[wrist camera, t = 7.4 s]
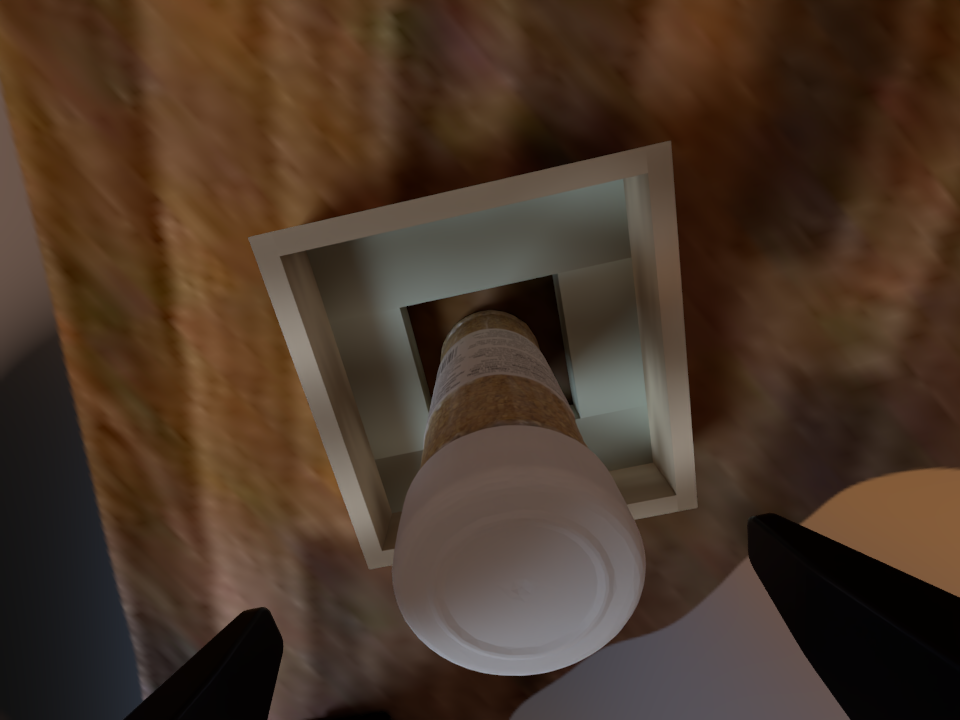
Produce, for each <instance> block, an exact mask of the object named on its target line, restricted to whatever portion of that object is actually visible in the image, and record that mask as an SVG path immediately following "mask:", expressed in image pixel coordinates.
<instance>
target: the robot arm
mask: <svg viewBox="0 0 960 720" xmlns="http://www.w3.org/2000/svg"><path fill="white" fill-rule="evenodd" d="M747 529H748V555H749V559H750V562H751V564H752V566H753V568H754V570H755V572H756V573H757V575H758V577H759V579H760V580H761V582H762V583H763V585H764V587H765V589H766V591H767V592H768V594H769V596H770V597H771V599H772V601H773V602H774V604H775V606H776V607H777V609H778V611H779V613H780V614H781V616H782V618H783V619H784V621H785V623H786V625H787V626H788V628H789V630H790V632H791V633H792V635H793V637H794V638H795V640H796V642H797V643H798V645H799V646H800V648H801V650H802V651H803V653H804V655H805V656H806V658H807V659H808V661H809V662H810V663H811V665H812V666H813V668H814V669H815V671H816V672H817V674H818V675H819V676H820V678H821V679H822V681H823V682H824V683H825V685H826V686H827V688H828V689H829V690H830V692H831V693H832V695H833V696H834V697H835V699H836V700H837V702H838V703H839V704H840V706H841V707H842V709H843V710H844V711H845V713H846V714H847V716H848V717H849V718H850V720H960V597H957V596H955V595H953V594H951V593H948V592H946V591H944V590H942V589H940V588H938V587H935V586H933V585H931V584H929V583H926V582H924V581H922V580H919V579H918V578H916V577H913V576H911V575H909V574H906V573H904V572H902V571H900V570H898V569H896V568H893V567H891V566H889V565H887V564H885V563H883V562H880V561H878V560H876V559H873V558H872V557H869V556H867V555H865V554H863V553H861V552H858V551H856V550H854V549H852V548H849V547H847V546H845V545H843V544H841V543H839V542H836V541H834V540H832V539H830V538H828V537H825V536H823V535H821V534H819V533H817V532H814V531H812V530H810V529H808V528H805V527H803V526H801V525H799V524H797V523H795V522H792V521H790V520H788V519H786V518H784V517H781V516H779V515H777V514H774V513H767V514H762V515H756V516H752V517H750V518H749V519H748V523H747ZM282 654H283V639H282V636H281V634H280V632H279V630H278V627H277V625H276V623H275V621H274V619H273V617H272V615H271V612H270V611H269V610H268V609H267V608H266V607H260V608H255V609H249V610H246V611H243V612H242V613H240V614H239V615H238V616H237V617H236V618H235V619H234V620H233V621H232V622H230V623H229V624H228V625H227V626H226V627H225V628H224V629H223V630H222V631H220V632H219V633H218V634H217V635H216V636H215V637H214V638H213V639H212V640H210V641H209V642H208V643H207V644H206V645H205V646H204V647H203V648H202V649H201V650H199V651H198V652H197V653H196V654H195V655H194V656H193V657H192V658H191V659H189V660H188V661H187V662H186V663H185V664H184V665H183V666H182V667H181V668H179V669H178V670H177V671H176V672H175V673H174V674H173V675H172V676H171V677H170V678H168V679H167V680H166V681H165V682H164V683H163V684H162V685H161V686H160V687H158V688H157V689H156V690H155V691H154V692H153V693H152V694H151V695H150V696H148V697H147V698H146V699H145V700H144V701H143V702H142V703H141V704H140V705H139V706H137V707H136V708H135V709H134V710H133V711H132V712H131V713H130V714H129V715H127V716H126V717H125V718H124V719H123V720H267V719H268V714H269V710H270V706H271V701H272V697H273V693H274V688H275V684H276V680H277V676H278V671H279V667H280V663H281V658H282ZM340 720H391V718H390V716H389V715H388V714H387V713H383V712H382V713H375V714H369V715H363V716H357V717H351V718H345V719H340Z"/></svg>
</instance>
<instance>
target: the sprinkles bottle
mask: <svg viewBox="0 0 960 720" xmlns="http://www.w3.org/2000/svg"><path fill="white" fill-rule="evenodd" d="M645 570H646V560H645V551H644V546H643V541H642V538H641V535H640V532H639V530H638V527H637V525H636V523H635V520H634V518H633V516H632V514H631V512H630V510H629V508H628V506H627V504H626V502H625V500H624V498H623V496H622V494H621V492H620V491H619V489H618V487H617V485H616V483H615V481H614V479H613V477H612V476H611V474H610V472H609V471H608V469H607V468H606V466H605V465H604V464H603V463H602V462H601V460H600V459H599V458H598V457H597V456H596V455H595V454H594V453H593V452H592V451H591V450H589V449H588V447H587V445H586V444H585V442H584V441H583V438H582V436H581V434H580V432H579V429H578V427H577V424H576V421H575V415H574V413H573V411H572V409H571V407H570V405H569V404H568V402H567V400H566V398H565V396H564V394H563V392H562V390H561V388H560V386H559V384H558V382H557V380H556V378H555V376H554V374H553V372H552V371H551V369H550V367H549V365H548V363H547V361H546V359H545V357H544V356H543V354H542V353H541V351H540V348H539V345H538V342H537V340H536V338H535V335H534V334H533V333H532V331H531V330H530V328H529V327H528V325H527V324H526V323H525V322H523V321H521V320H520V319H518V318H517V317H516V316H514V315H511V314H509V313H506V312H503V311H496V310H486V311H480V312H476V313H473V314H471V315H468V316H467V317H465V318H464V319H462V320H460V321H459V322H458V323H457V324H455V325H454V327H453V328H452V330H451V331H450V332H449V333H448V335H447V337H446V339H445V341H444V343H443V346H442V351H441V364H440V366H439V369H438V373H437V378H436V382H435V387H434V391H433V396H432V400H431V405H430V410H429V415H428V419H427V424H426V429H425V434H424V444H423V453H422V460H421V466H420V469H419V471H418V473H417V475H416V476H415V478H414V479H413V481H412V483H411V485H410V487H409V490H408V492H407V494H406V498H405V501H404V505H403V509H402V514H401V518H400V523H399V527H398V532H397V538H396V543H395V549H394V556H393V565H392V581H393V588H394V593H395V598H396V601H397V604H398V607H399V609H400V611H401V613H402V615H403V617H404V620H405V621H406V623H407V624H408V625H409V627H410V628H411V629H412V631H413V632H414V633H415V634H416V635H417V637H418V638H419V639H420V640H421V641H422V642H423V643H424V644H425V645H427V646H428V647H429V648H430V649H431V650H433V651H434V652H435V653H437V654H438V655H440V656H441V657H443V658H445V659H447V660H449V661H451V662H452V663H454V664H457V665H459V666H462V667H465V668H467V669H470V670H474V671H478V672H481V673H486V674H494V675H504V676H525V675H535V674H541V673H548V672H551V671H554V670H558V669H561V668H564V667H567V666H569V665H572V664H575V663H577V662H579V661H581V660H582V659H584V658H586V657H588V656H590V655H592V654H593V653H595V652H596V651H598V650H599V649H601V648H602V647H603V646H605V645H606V644H607V643H608V642H609V641H610V640H612V639H613V638H614V637H615V636H616V635H617V634H618V633H619V632H620V630H621V629H622V628H623V627H624V625H625V624H626V623H627V621H628V620H629V618H630V617H631V615H632V614H633V612H634V610H635V608H636V606H637V604H638V602H639V599H640V597H641V593H642V590H643V586H644V581H645Z"/></svg>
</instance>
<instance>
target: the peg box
mask: <svg viewBox="0 0 960 720" xmlns="http://www.w3.org/2000/svg"><path fill="white" fill-rule="evenodd" d="M248 239H249V241H250V244H251V247H252V250H253V252H254V255H255V258H256V261H257V263H258V266H259V269H260V272H261V274H262V277H263V280H264V283H265V285H266V288H267V291H268V294H269V296H270V299H271V302H272V305H273V307H274V310H275V313H276V316H277V318H278V321H279V324H280V326H281V329H282V332H283V335H284V337H285V340H286V343H287V346H288V348H289V351H290V354H291V357H292V359H293V362H294V365H295V368H296V370H297V373H298V376H299V379H300V381H301V384H302V387H303V390H304V392H305V395H306V398H307V401H308V403H309V406H310V409H311V411H312V414H313V417H314V420H315V422H316V425H317V428H318V431H319V433H320V436H321V439H322V442H323V444H324V447H325V450H326V453H327V455H328V458H329V461H330V464H331V466H332V469H333V472H334V475H335V477H336V480H337V483H338V486H339V488H340V491H341V494H342V496H343V499H344V502H345V505H346V507H347V510H348V513H349V516H350V518H351V521H352V524H353V527H354V529H355V532H356V535H357V538H358V540H359V543H360V546H361V549H362V551H363V554H364V557H365V560H366V562H367V565H368V568H369V569H375V568H380V567H385V566H390V565H393V556H394V549H395V543H396V538H397V532H398V527H399V523H400V518H401V514H402V509H403V505H404V501H405V498H406V494H407V492H408V490H409V487H410V485H411V483H412V481H413V479H414V478H415V476H416V475H417V473H418V471H419V469H420V466H421V460H422V453H423V444H424V434H425V429H426V424H427V419H428V415H429V410H430V405H431V396H430V392H429V388H428V385H427V381H426V377H425V374H424V370H423V366H422V363H421V359H420V355H419V351H418V348H417V344H416V340H415V337H414V333H413V329H412V325H411V322H410V318H409V314H408V311H407V307H406V306H410V305H415V304H419V303H424V302H428V301H433V300H438V299H442V298H447V297H452V296H456V295H461V294H465V293H470V292H475V291H479V290H484V289H488V288H493V287H498V286H502V285H507V284H511V283H516V282H521V281H525V280H530V279H534V278H539V277H544V276H548V275H552V276H553V282H554V288H555V294H556V301H557V307H558V313H559V319H560V325H561V331H562V338H563V344H564V350H565V356H566V362H567V368H568V375H569V381H570V387H571V393H572V399H573V405H570V407H571V409H572V411H573V413H574V415H575V421H576V424H577V427H578V429H579V432H580V434H581V436H582V438H583V441H584V442H585V444H586V445H587V447H588V449H589V450H591V451H592V452H593V453H594V454H595V455H596V456H597V457H598V458H599V459H600V460H601V462H602V463H603V464H604V465H605V466H606V468H607V469H608V471H609V472H610V474H611V476H612V477H613V479H614V481H615V483H616V485H617V487H618V489H619V491H620V492H621V494H622V496H623V498H624V500H625V502H626V504H627V506H628V508H629V510H630V512H631V514H632V516H633V518H634V520H635V519H640V518H646V517H651V516H656V515H662V514H667V513H672V512H678V511H683V510H688V509H693V508H698V505H697V491H696V478H695V464H694V450H693V436H692V423H691V409H690V395H689V381H688V368H687V354H686V340H685V326H684V312H683V299H682V285H681V271H680V257H679V244H678V230H677V216H676V202H675V189H674V175H673V161H672V147H671V141H666V142H662V143H658V144H653V145H649V146H645V147H640V148H636V149H632V150H627V151H623V152H618V153H614V154H610V155H605V156H601V157H597V158H592V159H588V160H584V161H579V162H575V163H570V164H566V165H562V166H557V167H553V168H549V169H544V170H540V171H536V172H531V173H527V174H522V175H518V176H514V177H509V178H505V179H501V180H496V181H492V182H487V183H483V184H479V185H474V186H470V187H466V188H461V189H457V190H453V191H448V192H444V193H439V194H435V195H431V196H426V197H422V198H418V199H413V200H409V201H405V202H400V203H396V204H391V205H387V206H383V207H378V208H374V209H370V210H365V211H361V212H357V213H352V214H348V215H343V216H339V217H335V218H330V219H326V220H322V221H317V222H313V223H309V224H304V225H300V226H295V227H291V228H287V229H282V230H278V231H274V232H269V233H265V234H261V235H256V236H252V237H248Z"/></svg>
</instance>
